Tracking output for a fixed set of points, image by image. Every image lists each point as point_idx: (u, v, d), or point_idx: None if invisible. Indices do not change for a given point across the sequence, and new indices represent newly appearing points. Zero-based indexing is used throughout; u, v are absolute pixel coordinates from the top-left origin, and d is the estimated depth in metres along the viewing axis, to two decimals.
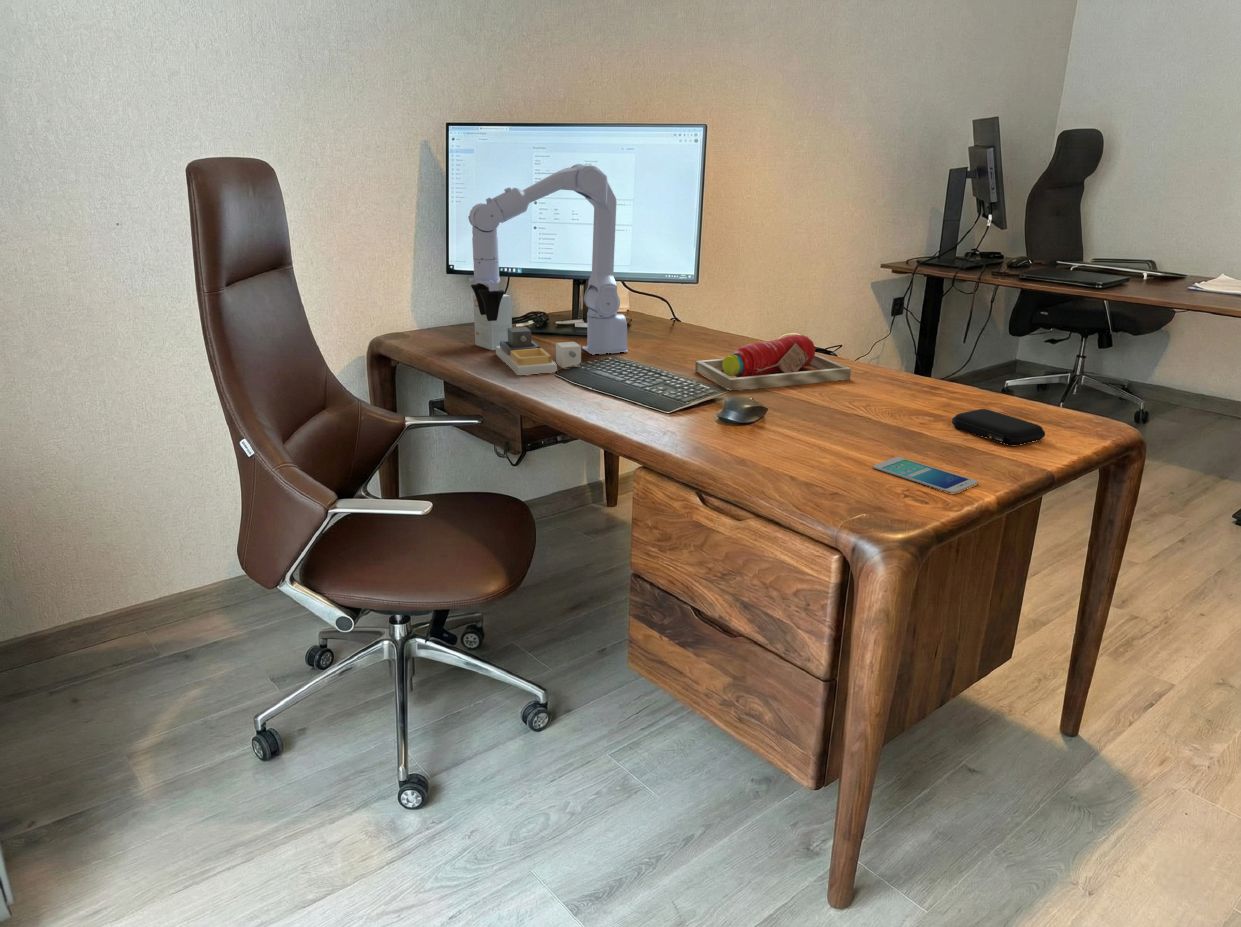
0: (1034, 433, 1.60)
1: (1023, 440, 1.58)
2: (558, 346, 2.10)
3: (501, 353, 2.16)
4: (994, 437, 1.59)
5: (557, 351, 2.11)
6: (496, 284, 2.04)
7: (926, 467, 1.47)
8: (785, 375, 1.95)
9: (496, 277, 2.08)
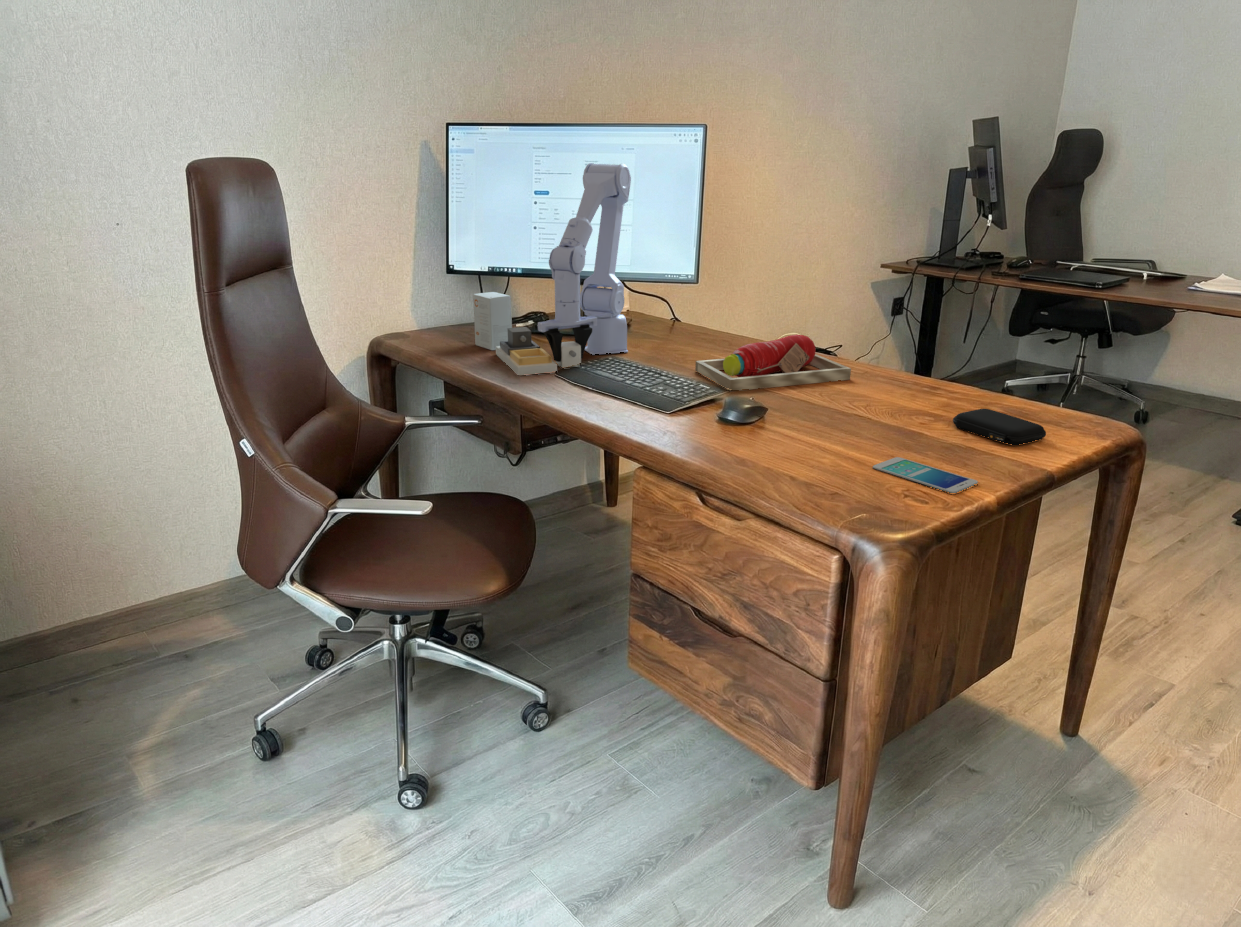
0: (1035, 433, 1.60)
1: (1024, 440, 1.58)
2: None
3: (501, 353, 2.16)
4: (995, 436, 1.59)
5: None
6: (541, 325, 2.04)
7: (926, 467, 1.47)
8: (785, 375, 1.95)
9: (563, 320, 2.05)
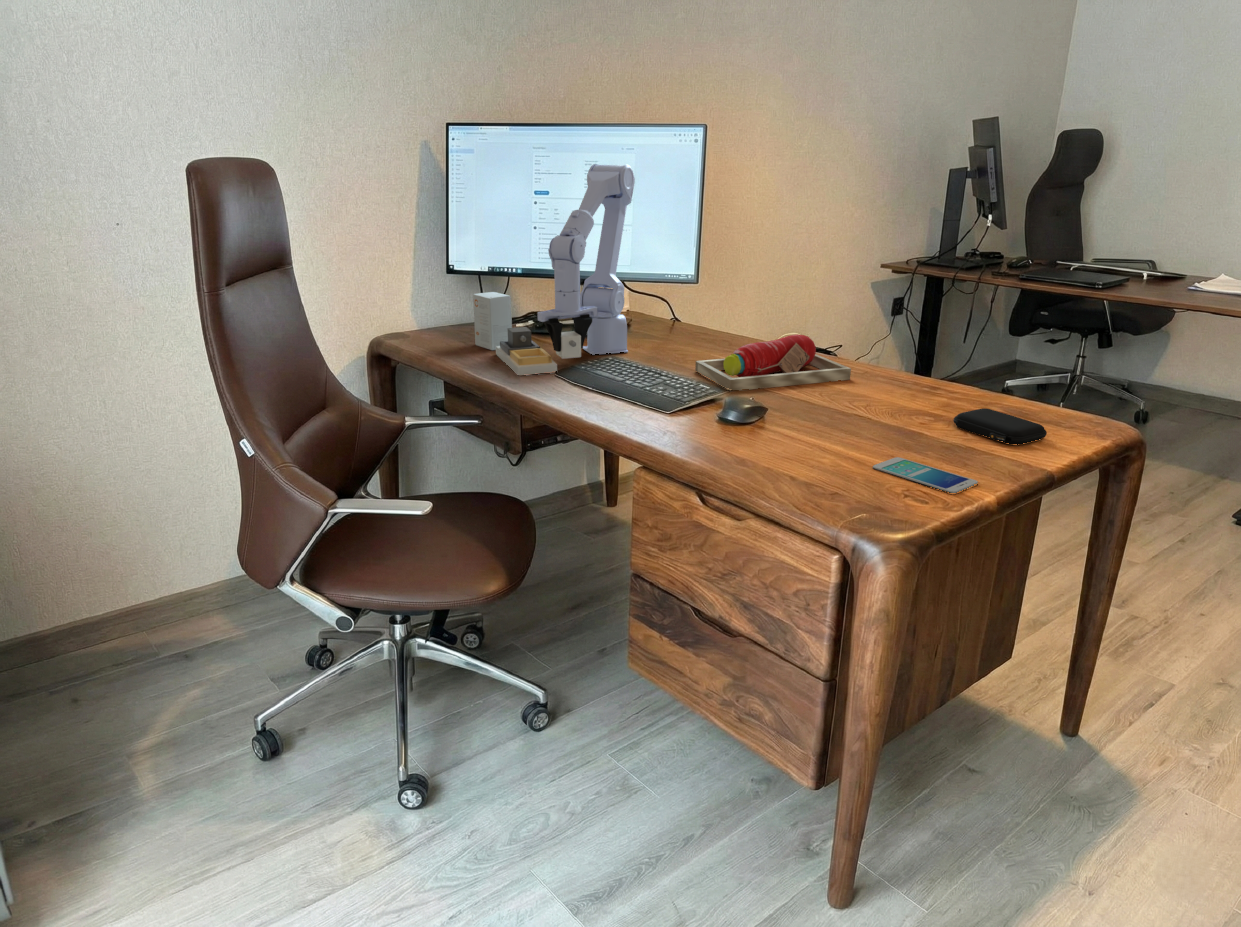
0: (1036, 433, 1.60)
1: (1025, 440, 1.58)
2: None
3: (501, 353, 2.16)
4: (996, 436, 1.60)
5: None
6: (540, 315, 2.03)
7: (926, 467, 1.47)
8: (785, 375, 1.95)
9: (563, 310, 2.05)
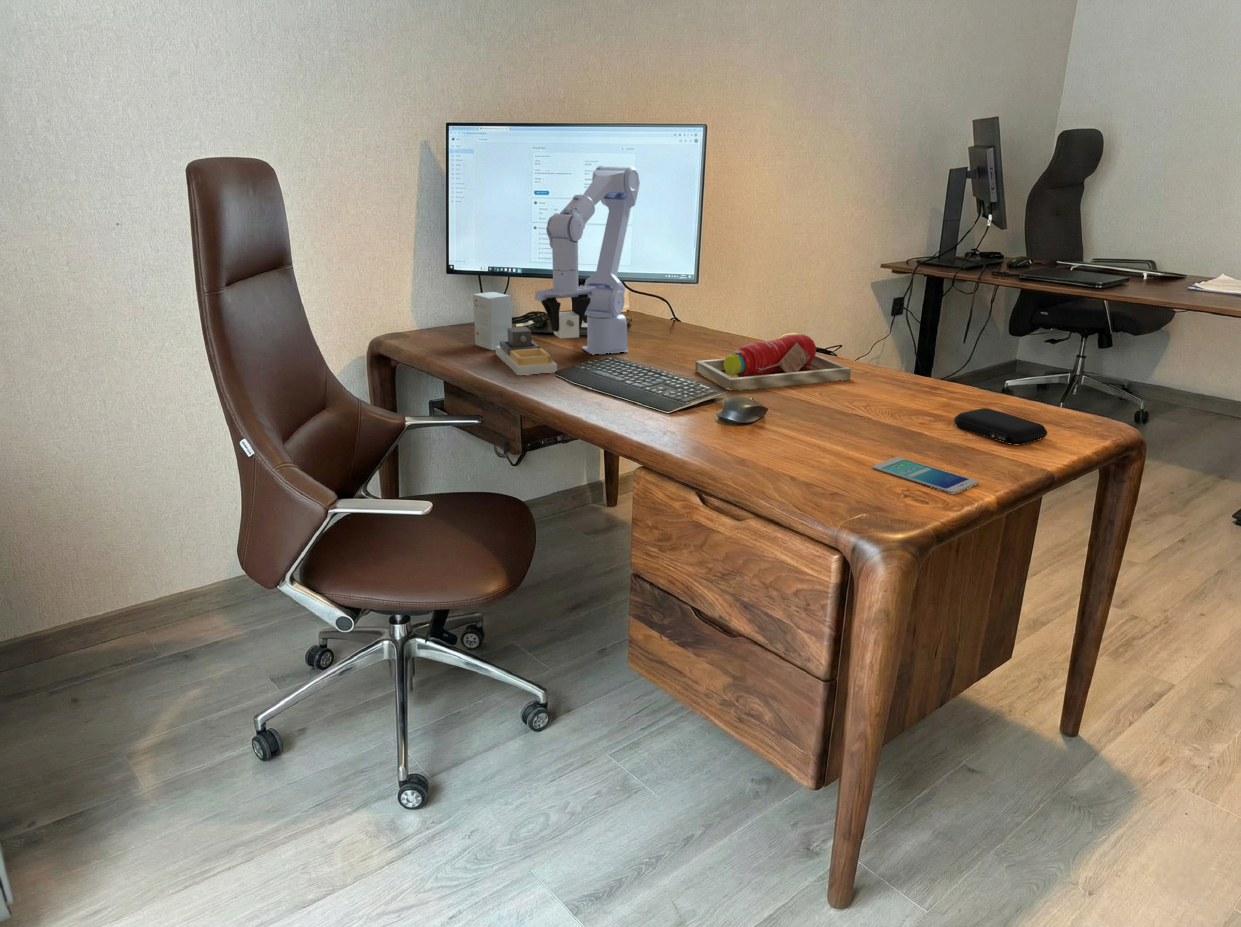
0: (1036, 432, 1.60)
1: (1025, 439, 1.58)
2: None
3: (501, 353, 2.16)
4: (997, 436, 1.60)
5: None
6: (538, 294, 2.02)
7: (926, 467, 1.47)
8: (785, 375, 1.95)
9: (560, 289, 2.03)
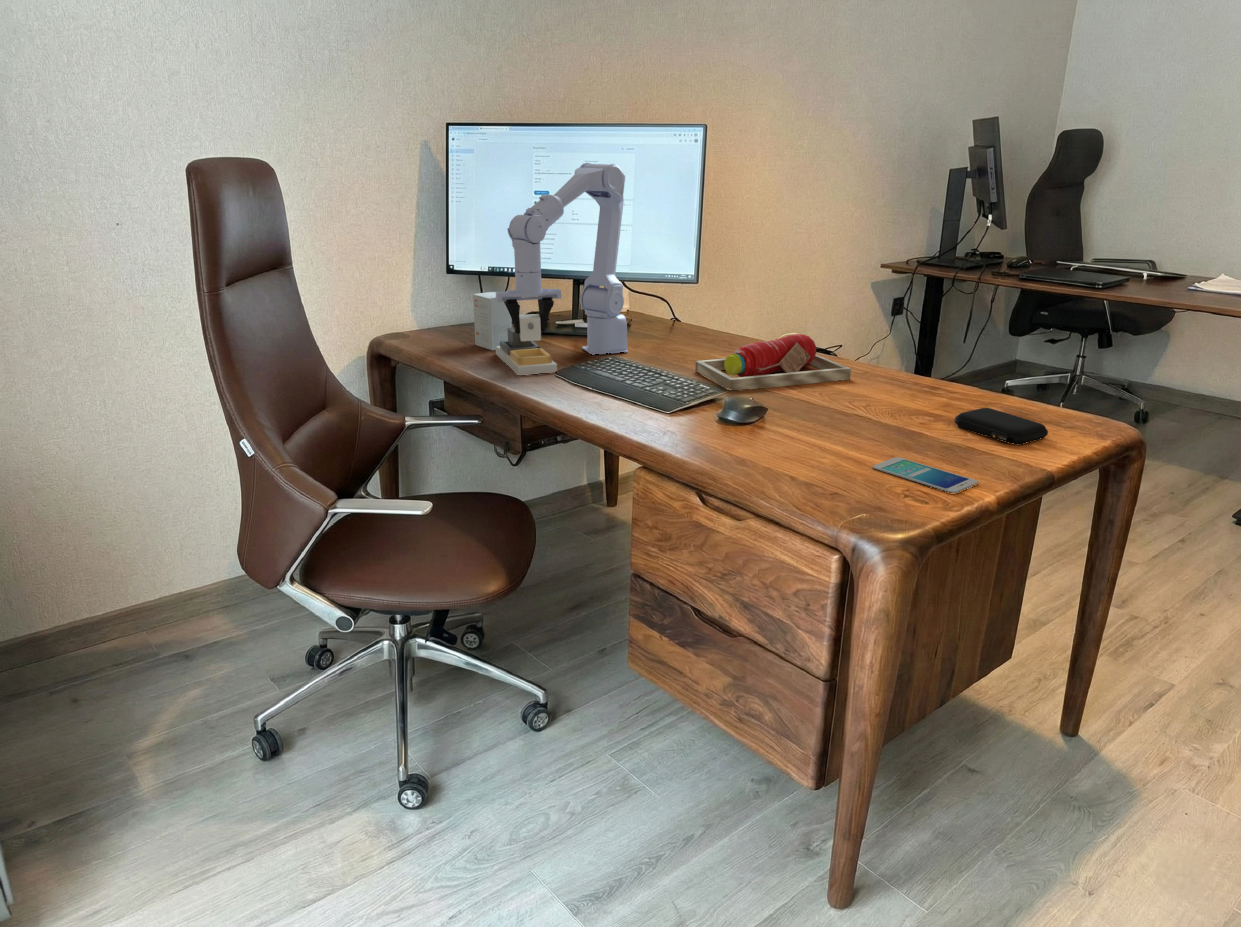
0: (1037, 432, 1.60)
1: (1026, 439, 1.59)
2: (519, 318, 2.05)
3: (501, 353, 2.16)
4: (998, 436, 1.60)
5: None
6: (497, 295, 2.00)
7: (926, 467, 1.47)
8: (785, 375, 1.95)
9: (520, 291, 2.00)
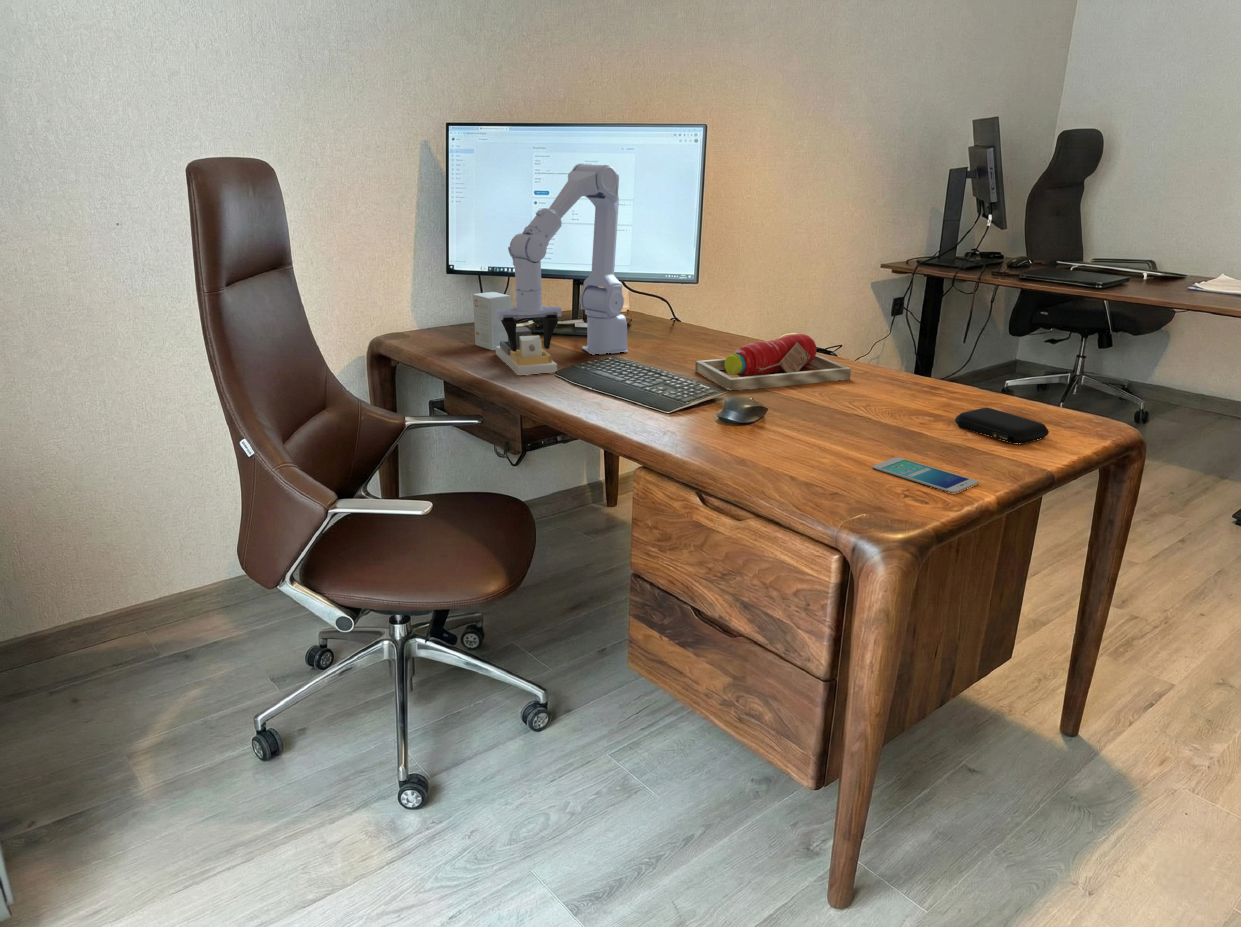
0: (1038, 432, 1.61)
1: (1027, 439, 1.59)
2: (520, 339, 2.06)
3: (501, 353, 2.16)
4: (998, 435, 1.60)
5: (520, 344, 2.07)
6: (498, 313, 2.01)
7: (926, 467, 1.47)
8: (785, 375, 1.95)
9: (521, 309, 2.02)
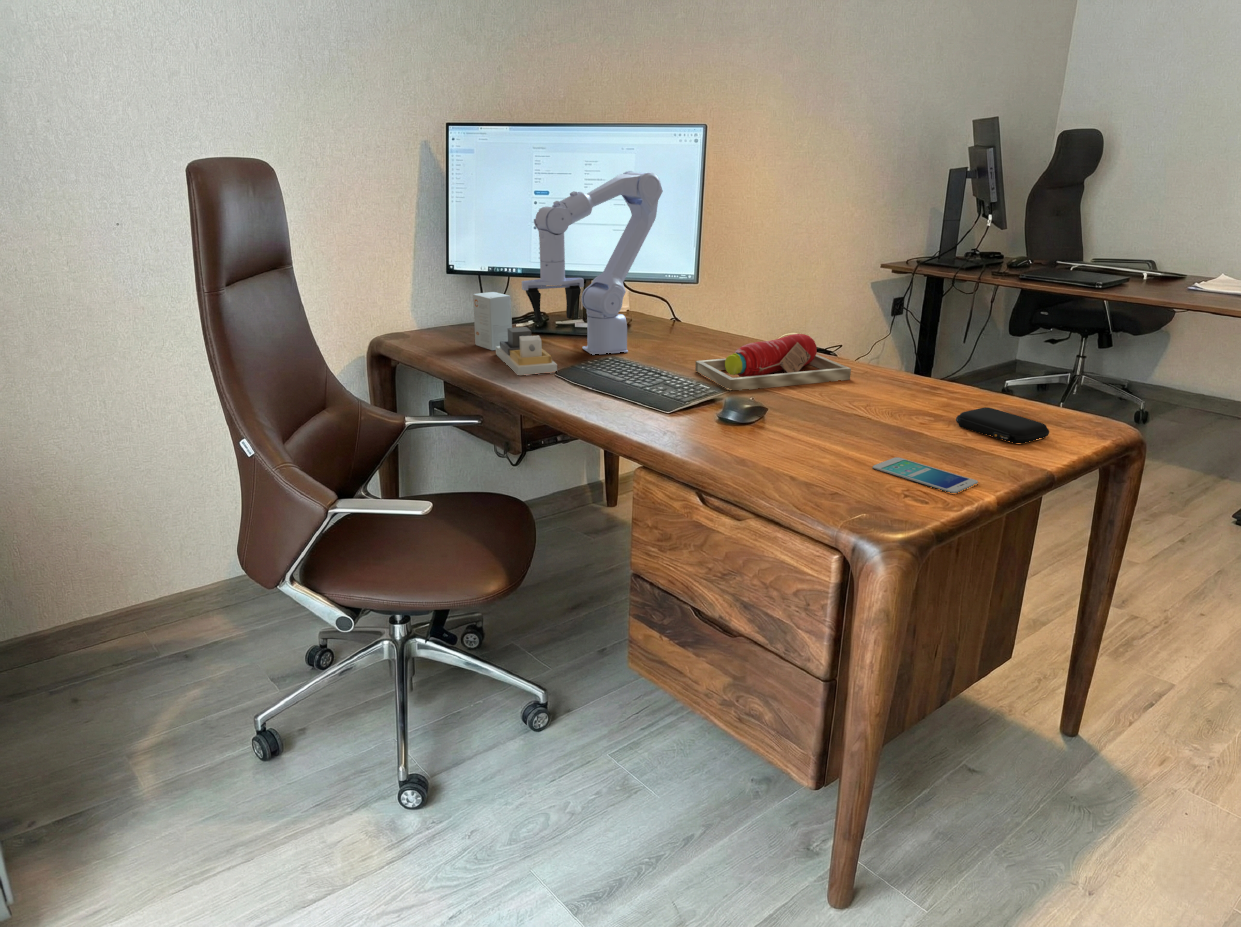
0: (1039, 432, 1.61)
1: (1028, 438, 1.59)
2: (520, 339, 2.06)
3: (501, 353, 2.16)
4: (999, 435, 1.60)
5: (520, 344, 2.07)
6: (523, 284, 2.09)
7: (926, 467, 1.47)
8: (785, 375, 1.95)
9: (545, 280, 2.09)
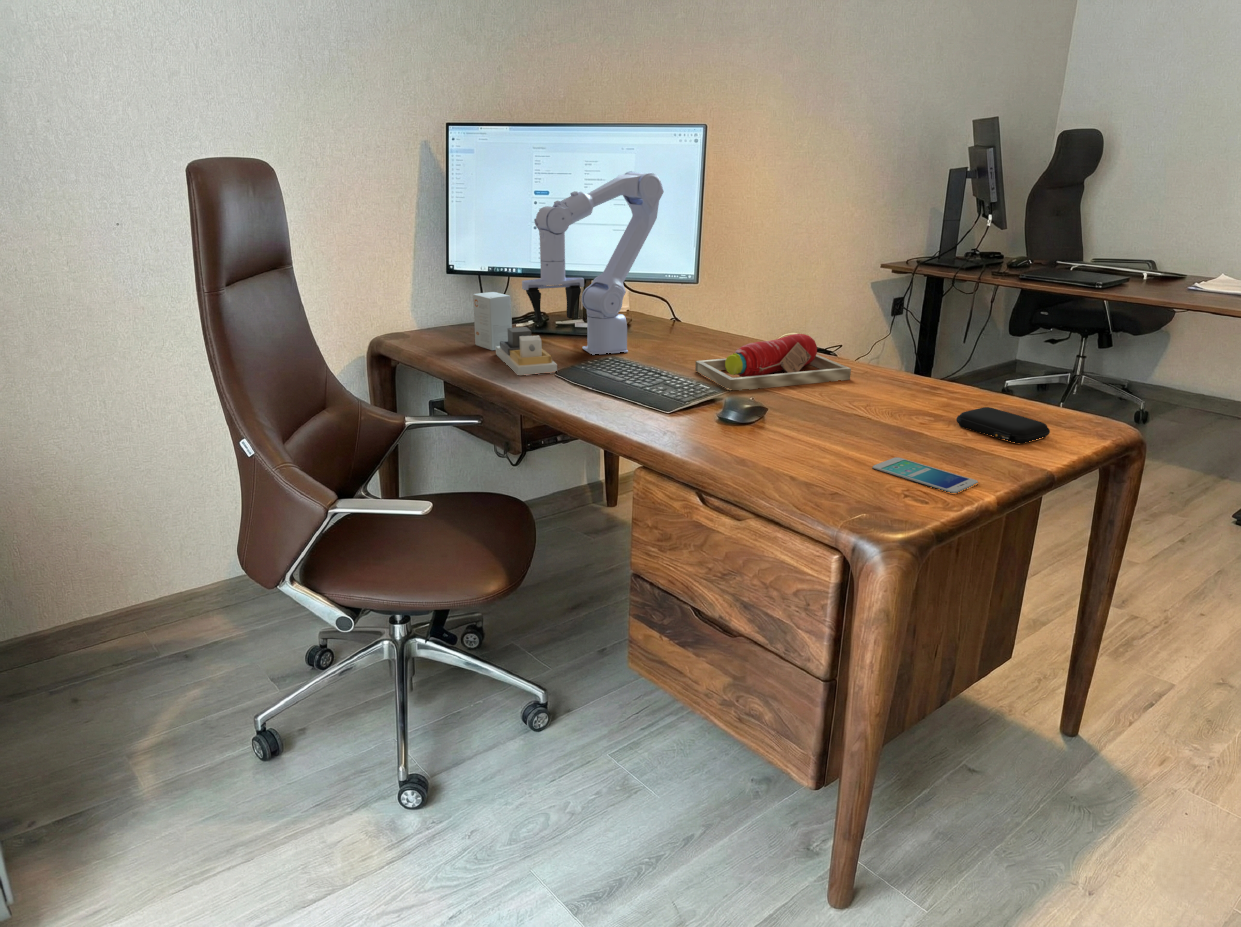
0: (1039, 431, 1.61)
1: (1029, 438, 1.59)
2: (520, 339, 2.06)
3: (501, 353, 2.16)
4: (1000, 435, 1.60)
5: (520, 344, 2.07)
6: (523, 283, 2.09)
7: (926, 467, 1.47)
8: (785, 375, 1.95)
9: (546, 279, 2.10)
